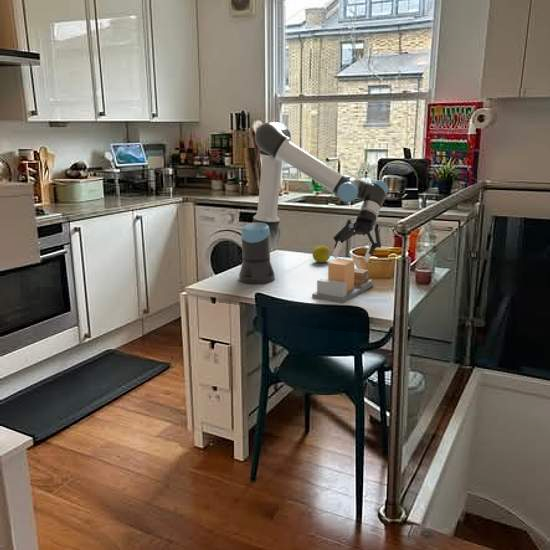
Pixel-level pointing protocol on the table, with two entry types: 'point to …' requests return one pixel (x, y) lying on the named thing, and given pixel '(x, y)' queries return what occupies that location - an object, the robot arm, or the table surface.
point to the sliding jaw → (360, 276)
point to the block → (342, 272)
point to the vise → (338, 290)
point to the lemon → (321, 254)
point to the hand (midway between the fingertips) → (349, 258)
